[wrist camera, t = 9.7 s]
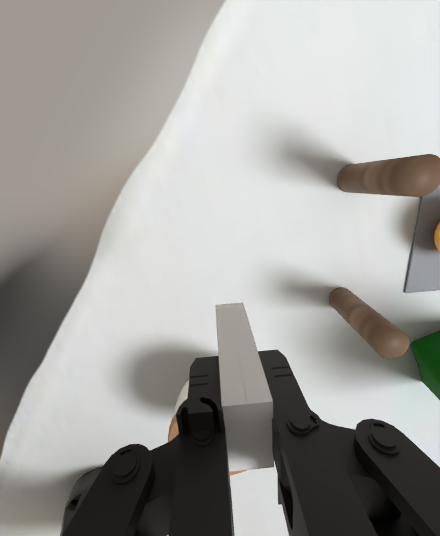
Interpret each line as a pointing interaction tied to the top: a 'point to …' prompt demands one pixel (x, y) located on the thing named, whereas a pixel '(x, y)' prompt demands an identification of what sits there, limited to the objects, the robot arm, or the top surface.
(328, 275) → the top surface
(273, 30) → the top surface
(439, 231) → the ball
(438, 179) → the post
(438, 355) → the milk carton
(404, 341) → the post
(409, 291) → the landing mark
